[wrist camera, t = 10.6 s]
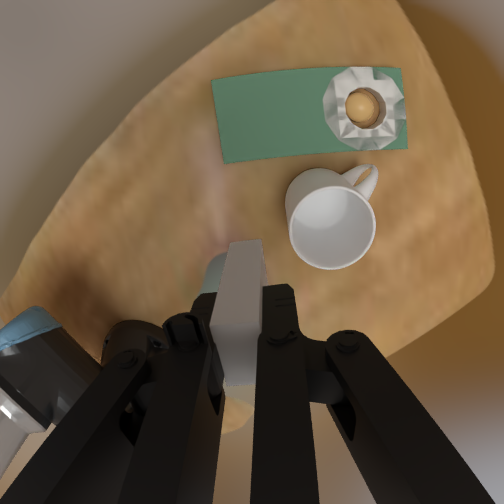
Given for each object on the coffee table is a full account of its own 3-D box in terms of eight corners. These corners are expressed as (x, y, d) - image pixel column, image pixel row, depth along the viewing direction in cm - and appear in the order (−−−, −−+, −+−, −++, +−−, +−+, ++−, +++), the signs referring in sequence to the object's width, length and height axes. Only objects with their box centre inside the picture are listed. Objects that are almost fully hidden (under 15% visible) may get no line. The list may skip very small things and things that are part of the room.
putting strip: (227, 160, 38) (224, 163, 36) (214, 82, 34) (211, 80, 32) (400, 146, 36) (407, 149, 33) (393, 70, 32) (400, 68, 29)
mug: (382, 183, 38) (416, 208, 28) (316, 244, 42) (329, 285, 32) (339, 133, 36) (363, 142, 26) (270, 199, 40) (269, 230, 30)
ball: (339, 123, 34) (368, 127, 32) (337, 93, 32) (367, 96, 30) (350, 116, 36) (378, 120, 34) (349, 89, 34) (377, 92, 32)
